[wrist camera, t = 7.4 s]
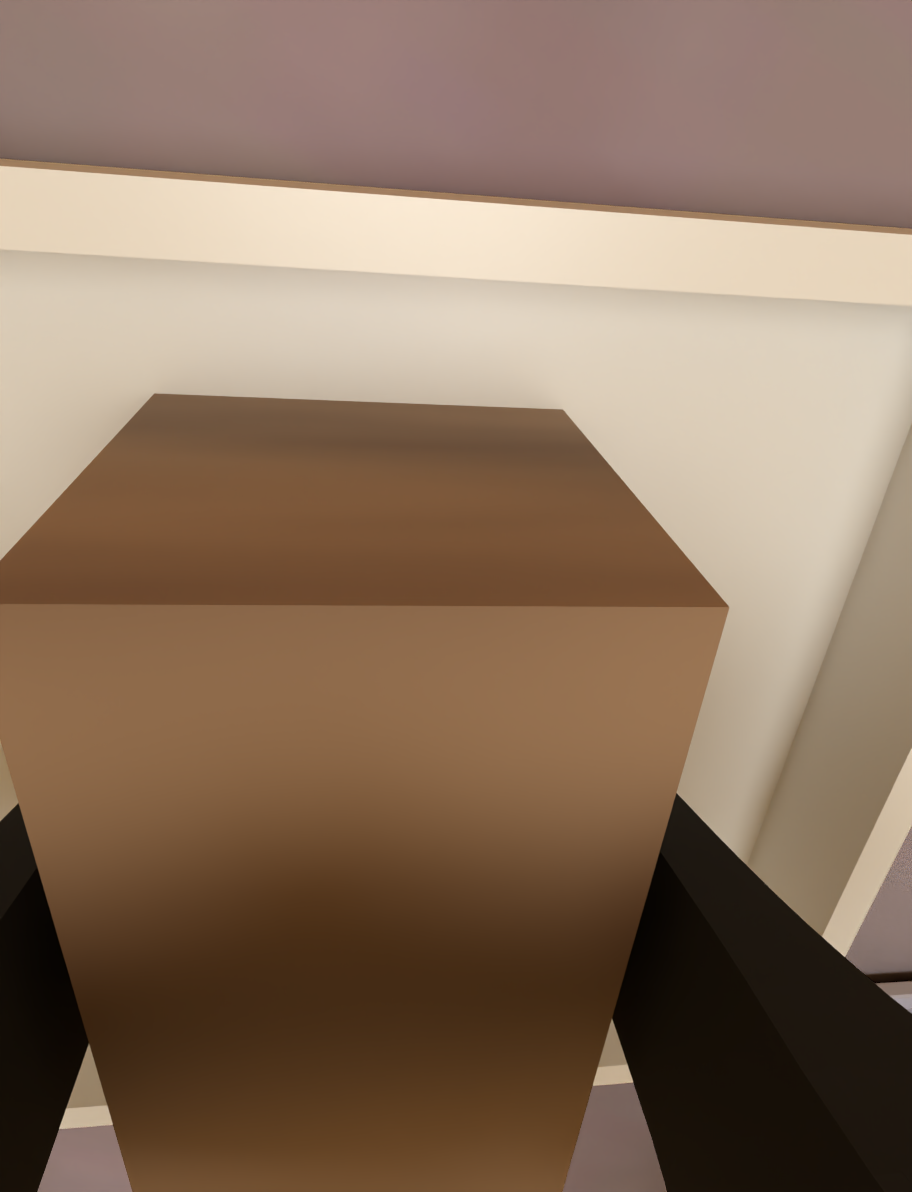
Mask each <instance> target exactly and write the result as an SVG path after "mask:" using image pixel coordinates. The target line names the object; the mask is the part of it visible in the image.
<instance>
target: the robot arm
mask: <svg viewBox="0 0 912 1192" xmlns="http://www.w3.org/2000/svg"><path fill="white" fill-rule="evenodd" d="M612 1020H613V1023H614V1026H615V1029H616V1032H617V1035H618V1038H619V1041H620V1044H621V1047H622V1050H623V1053H624V1056H625V1059H626V1062H627V1065H628V1068H629V1071H630V1074H631V1077H632V1080H633V1083H634V1086H635V1089H636V1092H637V1095H638V1098H639V1101H640V1104H641V1107H642V1110H643V1113H644V1116H645V1119H646V1122H647V1125H648V1128H649V1131H650V1134H651V1137H652V1140H653V1144H654V1147H655V1151H656V1154H657V1158H658V1161H659V1164H660V1168H661V1171H662V1175H663V1178H664V1181H665V1185H666V1189H667V1192H912V981H904V982H889V983H874V982H873V981H871V980H870V979H869V978H868V977H867V976H866V975H864V974H863V973H862V972H861V971H860V970H859V969H857V968H856V967H855V966H854V965H853V964H852V963H851V962H850V961H848V960H847V959H846V958H845V957H844V956H843V955H842V954H841V953H840V952H838V951H837V950H836V949H835V948H834V947H833V946H832V945H831V944H830V943H828V942H827V941H826V940H825V939H824V938H823V937H822V936H821V935H819V934H818V933H817V932H816V931H815V930H814V929H813V928H812V927H811V926H809V925H808V924H807V923H806V922H805V921H804V920H803V919H802V918H801V917H800V916H799V915H798V914H797V913H795V912H794V911H793V910H792V909H791V908H790V907H789V906H788V905H787V904H786V903H785V902H784V901H783V900H782V899H781V898H780V897H779V896H778V895H776V894H775V893H774V892H773V891H772V890H771V889H770V888H769V887H768V886H767V885H766V884H765V883H764V882H763V881H762V880H761V879H760V878H759V877H758V876H757V875H756V874H755V873H754V872H753V871H752V870H751V869H750V868H749V867H748V866H747V865H746V864H745V863H744V862H743V861H742V860H741V859H740V858H739V857H738V856H737V855H736V854H735V853H734V852H733V851H732V850H731V849H730V848H729V847H728V846H727V845H726V844H725V843H724V842H723V841H722V840H721V839H720V838H719V837H718V836H717V835H716V834H715V833H714V832H713V831H712V829H711V828H710V827H709V826H708V825H707V824H706V823H705V822H704V821H703V820H702V819H701V818H700V817H699V816H698V815H697V814H696V813H695V812H694V811H693V810H692V809H691V808H690V807H689V805H688V804H687V803H686V802H685V801H684V800H683V799H682V798H681V797H680V796H679V795H678V794H677V793H676V796H675V800H674V803H673V807H672V810H671V814H670V817H669V820H668V824H667V827H666V831H665V834H664V838H663V841H662V845H661V848H660V852H659V855H658V859H657V862H656V866H655V869H654V873H653V876H652V880H651V883H650V887H649V890H648V894H647V897H646V901H645V904H644V908H643V911H642V915H641V918H640V922H639V925H638V929H637V932H636V936H635V939H634V943H633V946H632V950H631V953H630V957H629V960H628V964H627V967H626V971H625V974H624V978H623V981H622V985H621V988H620V992H619V995H618V999H617V1002H616V1006H615V1009H614V1013H613V1016H612ZM88 1045H89V1041H88V1038H87V1035H86V1031H85V1028H84V1024H83V1021H82V1017H81V1014H80V1011H79V1007H78V1004H77V1000H76V997H75V994H74V990H73V987H72V983H71V980H70V977H69V973H68V970H67V966H66V963H65V960H64V956H63V953H62V949H61V946H60V942H59V939H58V936H57V932H56V929H55V925H54V922H53V919H52V915H51V912H50V908H49V905H48V902H47V898H46V895H45V891H44V888H43V884H42V881H41V878H40V874H39V871H38V867H37V864H36V861H35V857H34V854H33V850H32V847H31V844H30V840H29V837H28V833H27V830H26V827H25V823H24V820H23V816H22V813H21V809H20V806H19V803H18V804H17V805H16V806H15V807H14V808H13V809H12V810H11V811H10V812H9V813H8V814H7V815H6V816H5V817H4V818H3V819H2V820H1V821H0V1192H37V1191H38V1188H39V1185H40V1182H41V1179H42V1176H43V1174H44V1171H45V1168H46V1165H47V1162H48V1159H49V1156H50V1153H51V1151H52V1148H53V1145H54V1142H55V1139H56V1136H57V1133H58V1131H59V1128H60V1125H61V1122H62V1119H63V1116H64V1113H65V1111H66V1108H67V1105H68V1102H69V1099H70V1096H71V1093H72V1090H73V1088H74V1085H75V1082H76V1079H77V1076H78V1073H79V1070H80V1068H81V1065H82V1062H83V1059H84V1056H85V1053H86V1050H87V1048H88Z"/></svg>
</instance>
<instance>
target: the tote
mask: <svg viewBox="0 0 912 1192" xmlns="http://www.w3.org/2000/svg"><path fill="white" fill-rule="evenodd" d="M154 393H156V394H182V395H207V396H232V397H258V398H283V399H308V400H334V401H359V402H385V403H410V404H435V405H461V406H486V407H511V408H537V409H562V410H564V411H565V413H566V414H567V415H568V416H569V417H570V418H571V420H572V421H573V422H574V423H575V424H576V426H577V427H578V428H579V429H580V430H581V432H582V433H583V434H584V435H585V436H586V437H587V439H588V440H589V441H590V442H591V443H592V445H593V446H594V447H595V448H596V449H597V451H598V452H599V453H600V454H601V455H602V456H603V458H604V459H605V460H606V461H607V462H608V464H609V465H610V466H611V467H612V468H613V470H614V471H615V472H616V473H617V474H618V475H619V477H620V478H621V479H622V480H623V481H624V483H625V484H626V485H627V486H628V487H629V489H630V490H631V491H632V492H633V493H634V494H635V496H636V497H637V498H638V499H639V500H640V502H641V503H642V504H643V505H644V506H645V507H646V509H647V510H648V511H649V512H650V513H651V515H652V516H653V517H654V518H655V519H656V521H657V522H658V523H659V524H660V525H661V526H662V528H663V529H664V530H665V531H666V532H667V534H668V535H669V536H670V537H671V538H672V540H673V541H674V542H675V543H676V544H677V545H678V547H679V548H680V549H681V550H682V551H683V553H684V554H685V555H686V556H687V557H688V559H689V560H690V561H691V562H692V563H693V564H694V566H695V567H696V568H697V569H698V570H699V572H700V573H701V574H702V575H703V576H704V578H705V579H706V580H707V581H708V582H709V583H710V585H711V586H712V587H713V588H714V589H715V591H716V592H717V593H718V594H719V595H720V597H721V598H722V599H723V600H724V601H725V602H726V604H727V605H728V606H729V611H728V614H727V618H726V621H725V625H724V628H723V632H722V635H721V639H720V642H719V646H718V649H717V653H716V656H715V660H714V663H713V667H712V670H711V674H710V677H709V681H708V684H707V688H706V691H705V695H704V698H703V702H702V705H701V709H700V712H699V716H698V719H697V723H696V726H695V730H694V733H693V737H692V740H691V744H690V747H689V751H688V754H687V758H686V761H685V765H684V768H683V772H682V775H681V779H680V782H679V786H678V789H677V794H678V795H679V796H680V797H681V798H682V799H683V800H684V801H685V802H686V803H687V804H688V805H689V807H690V808H691V809H692V810H693V811H694V812H695V813H696V814H697V815H698V816H699V817H700V818H701V819H702V820H703V821H704V822H705V823H706V824H707V825H708V826H709V827H710V828H711V829H712V831H713V832H714V833H715V834H716V835H717V836H718V837H719V838H720V839H721V840H722V841H723V842H724V843H725V844H726V845H727V846H728V847H729V848H730V849H731V850H732V851H733V852H734V853H735V854H736V855H737V856H738V857H739V858H740V859H741V860H742V861H743V862H744V863H745V864H746V865H747V866H748V867H749V868H750V869H751V870H752V871H753V872H754V873H755V874H756V875H757V876H758V877H759V878H760V879H761V880H762V881H763V882H764V883H765V884H766V885H767V886H768V887H769V888H770V889H771V890H772V891H773V892H774V893H775V894H776V895H778V896H779V897H780V898H781V899H782V900H783V901H784V902H785V903H786V904H787V905H788V906H789V907H790V908H791V909H792V910H793V911H794V912H795V913H797V914H798V915H799V916H800V917H801V918H802V919H803V920H804V921H805V922H806V923H807V924H808V925H809V926H811V927H812V928H813V929H814V930H815V931H816V932H817V933H818V934H819V935H821V936H822V937H823V938H824V939H825V940H826V941H827V942H828V943H830V944H831V945H832V946H833V947H834V948H835V949H836V950H837V951H838V952H840V953H841V954H842V955H843V956H844V957H845V956H846V954H847V952H848V950H849V948H850V946H851V944H852V942H853V940H854V938H855V936H856V934H857V932H858V930H859V928H860V926H861V924H862V923H863V921H864V919H865V917H866V915H867V913H868V911H869V909H870V907H871V905H872V903H873V901H874V899H875V897H876V895H877V893H878V891H879V889H880V887H881V885H882V883H883V881H884V879H885V877H886V875H887V873H888V871H889V869H890V867H891V865H892V863H893V861H894V859H895V858H896V856H897V854H898V852H899V850H900V848H901V846H902V844H903V842H904V840H905V838H906V836H907V834H908V832H909V830H910V828H911V826H912V229H911V228H898V227H885V226H872V225H859V224H846V223H833V222H820V221H807V220H794V219H781V218H768V217H755V216H742V215H729V214H716V213H703V212H690V211H677V210H664V209H651V208H638V207H625V206H612V205H599V204H586V203H573V202H560V201H547V200H534V199H521V198H508V197H495V196H482V195H469V194H455V193H442V192H429V191H416V190H403V189H390V188H377V187H364V186H351V185H338V184H325V183H312V182H299V181H286V180H273V179H260V178H247V177H234V176H221V175H208V174H195V173H182V172H169V171H156V170H143V169H130V168H117V167H104V166H91V165H78V164H65V163H52V162H39V161H26V160H13V159H0V560H1V559H2V558H3V557H4V556H5V555H6V554H7V553H8V552H9V550H10V549H11V548H12V547H13V546H14V545H15V544H16V543H17V542H18V541H19V540H20V539H21V537H22V536H23V535H24V534H25V533H26V532H27V531H28V530H29V529H30V528H31V527H32V526H33V524H34V523H35V522H36V521H37V520H38V519H39V518H40V517H41V516H42V515H43V514H44V512H45V511H46V510H47V509H48V508H49V507H50V506H51V505H52V504H53V503H54V502H55V501H56V499H57V498H58V497H59V496H60V495H61V494H62V493H63V492H64V491H65V490H66V489H67V488H68V486H69V485H70V484H71V483H72V482H73V481H74V480H75V479H76V478H77V477H78V476H79V475H80V473H81V472H82V471H83V470H84V469H85V468H86V467H87V466H88V465H89V464H90V463H91V462H92V460H93V459H94V458H95V457H96V456H97V455H98V454H99V453H100V452H101V451H102V450H103V449H104V447H105V446H106V445H107V444H108V443H109V442H110V441H111V440H112V439H113V438H114V437H115V436H116V434H117V433H118V432H119V431H120V430H121V429H122V428H123V427H124V426H125V425H126V424H127V423H128V421H129V420H130V419H131V418H132V417H133V416H134V415H135V414H136V413H137V412H138V411H139V410H140V408H141V407H142V406H143V405H144V404H145V403H146V402H147V401H148V400H149V399H150V398H151V397H152V395H153V394H154ZM17 804H18V799H17V796H16V792H15V789H14V786H13V782H12V779H11V775H10V772H9V769H8V765H7V762H6V758H5V755H4V752H3V748H2V745H1V741H0V821H1V820H2V819H3V818H4V817H5V816H6V815H7V814H8V813H9V812H10V811H11V810H12V809H13V808H14V807H15V806H16V805H17ZM621 1083H633V1080H632V1077H631V1074H630V1071H629V1068H628V1065H627V1062H626V1059H625V1056H624V1053H623V1050H622V1047H621V1044H620V1041H619V1038H618V1035H617V1032H616V1029H615V1026H614V1023H613V1020H611V1023H610V1027H609V1030H608V1034H607V1037H606V1041H605V1044H604V1048H603V1051H602V1055H601V1058H600V1062H599V1065H598V1069H597V1072H596V1075H595V1079H594V1082H593V1086H596V1085H609V1084H621ZM103 1125H113V1123H112V1120H111V1116H110V1113H109V1110H108V1106H107V1103H106V1099H105V1096H104V1093H103V1089H102V1086H101V1082H100V1079H99V1075H98V1072H97V1069H96V1065H95V1062H94V1058H93V1055H92V1052H91V1048H90V1045H88V1048H87V1050H86V1053H85V1056H84V1059H83V1062H82V1065H81V1068H80V1070H79V1073H78V1076H77V1079H76V1082H75V1085H74V1088H73V1090H72V1093H71V1096H70V1099H69V1102H68V1105H67V1108H66V1111H65V1113H64V1116H63V1119H62V1122H61V1125H60V1128H59V1129H66V1128H79V1127H91V1126H103Z"/></svg>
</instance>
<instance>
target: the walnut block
mask: <svg viewBox="0 0 912 1192" xmlns="http://www.w3.org/2000/svg"><path fill="white" fill-rule="evenodd" d="M728 611H729V606H728V605H727V604H726V602H725V601H724V600H723V599H722V598H721V597H720V595H719V594H718V593H717V592H716V591H715V589H714V588H713V587H712V586H711V585H710V583H709V582H708V581H707V580H706V579H705V578H704V576H703V575H702V574H701V573H700V572H699V570H698V569H697V568H696V567H695V566H694V564H693V563H692V562H691V561H690V560H689V559H688V557H687V556H686V555H685V554H684V553H683V551H682V550H681V549H680V548H679V547H678V545H677V544H676V543H675V542H674V541H673V540H672V538H671V537H670V536H669V535H668V534H667V532H666V531H665V530H664V529H663V528H662V526H661V525H660V524H659V523H658V522H657V521H656V519H655V518H654V517H653V516H652V515H651V513H650V512H649V511H648V510H647V509H646V507H645V506H644V505H643V504H642V503H641V502H640V500H639V499H638V498H637V497H636V496H635V494H634V493H633V492H632V491H631V490H630V489H629V487H628V486H627V485H626V484H625V483H624V481H623V480H622V479H621V478H620V477H619V475H618V474H617V473H616V472H615V471H614V470H613V468H612V467H611V466H610V465H609V464H608V462H607V461H606V460H605V459H604V458H603V456H602V455H601V454H600V453H599V452H598V451H597V449H596V448H595V447H594V446H593V445H592V443H591V442H590V441H589V440H588V439H587V437H586V436H585V435H584V434H583V433H582V432H581V430H580V429H579V428H578V427H577V426H576V424H575V423H574V422H573V421H572V420H571V418H570V417H569V416H568V415H567V414H566V413H565V411H564V410H562V409H537V408H511V407H486V406H461V405H435V404H410V403H385V402H359V401H334V400H308V399H283V398H258V397H232V396H207V395H182V394H156V393H154V394H153V395H152V397H151V398H150V399H149V400H148V401H147V402H146V403H145V404H144V405H143V406H142V407H141V408H140V410H139V411H138V412H137V413H136V414H135V415H134V416H133V417H132V418H131V419H130V420H129V421H128V423H127V424H126V425H125V426H124V427H123V428H122V429H121V430H120V431H119V432H118V433H117V434H116V436H115V437H114V438H113V439H112V440H111V441H110V442H109V443H108V444H107V445H106V446H105V447H104V449H103V450H102V451H101V452H100V453H99V454H98V455H97V456H96V457H95V458H94V459H93V460H92V462H91V463H90V464H89V465H88V466H87V467H86V468H85V469H84V470H83V471H82V472H81V473H80V475H79V476H78V477H77V478H76V479H75V480H74V481H73V482H72V483H71V484H70V485H69V486H68V488H67V489H66V490H65V491H64V492H63V493H62V494H61V495H60V496H59V497H58V498H57V499H56V501H55V502H54V503H53V504H52V505H51V506H50V507H49V508H48V509H47V510H46V511H45V512H44V514H43V515H42V516H41V517H40V518H39V519H38V520H37V521H36V522H35V523H34V524H33V526H32V527H31V528H30V529H29V530H28V531H27V532H26V533H25V534H24V535H23V536H22V537H21V539H20V540H19V541H18V542H17V543H16V544H15V545H14V546H13V547H12V548H11V549H10V550H9V552H8V553H7V554H6V555H5V556H4V557H3V558H2V559H1V560H0V741H1V745H2V748H3V752H4V755H5V758H6V762H7V765H8V769H9V772H10V775H11V779H12V782H13V786H14V789H15V792H16V796H17V799H18V803H19V806H20V809H21V813H22V816H23V820H24V823H25V827H26V830H27V833H28V837H29V840H30V844H31V847H32V850H33V854H34V857H35V861H36V864H37V867H38V871H39V874H40V878H41V881H42V884H43V888H44V891H45V895H46V898H47V902H48V905H49V908H50V912H51V915H52V919H53V922H54V925H55V929H56V932H57V936H58V939H59V942H60V946H61V949H62V953H63V956H64V960H65V963H66V966H67V970H68V973H69V977H70V980H71V983H72V987H73V990H74V994H75V997H76V1000H77V1004H78V1007H79V1011H80V1014H81V1017H82V1021H83V1024H84V1028H85V1031H86V1035H87V1038H88V1041H89V1045H90V1048H91V1052H92V1055H93V1058H94V1062H95V1065H96V1069H97V1072H98V1075H99V1079H100V1082H101V1086H102V1089H103V1093H104V1096H105V1099H106V1103H107V1106H108V1110H109V1113H110V1116H111V1120H112V1123H113V1127H114V1130H115V1133H116V1137H117V1140H118V1144H119V1147H120V1150H121V1154H122V1157H123V1161H124V1164H125V1168H126V1171H127V1174H128V1178H129V1181H130V1185H131V1188H132V1191H133V1192H562V1191H563V1187H564V1184H565V1180H566V1177H567V1173H568V1170H569V1166H570V1163H571V1159H572V1156H573V1152H574V1149H575V1145H576V1142H577V1138H578V1135H579V1131H580V1128H581V1124H582V1121H583V1117H584V1114H585V1110H586V1107H587V1103H588V1100H589V1096H590V1093H591V1089H592V1086H593V1082H594V1079H595V1075H596V1072H597V1069H598V1065H599V1062H600V1058H601V1055H602V1051H603V1048H604V1044H605V1041H606V1037H607V1034H608V1030H609V1027H610V1023H611V1020H612V1016H613V1013H614V1009H615V1006H616V1002H617V999H618V995H619V992H620V988H621V985H622V981H623V978H624V974H625V971H626V967H627V964H628V960H629V957H630V953H631V950H632V946H633V943H634V939H635V936H636V932H637V929H638V925H639V922H640V918H641V915H642V911H643V908H644V904H645V901H646V897H647V894H648V890H649V887H650V883H651V880H652V876H653V873H654V869H655V866H656V862H657V859H658V855H659V852H660V848H661V845H662V841H663V838H664V834H665V831H666V827H667V824H668V820H669V817H670V814H671V810H672V807H673V803H674V800H675V796H676V793H677V789H678V786H679V782H680V779H681V775H682V772H683V768H684V765H685V761H686V758H687V754H688V751H689V747H690V744H691V740H692V737H693V733H694V730H695V726H696V723H697V719H698V716H699V712H700V709H701V705H702V702H703V698H704V695H705V691H706V688H707V684H708V681H709V677H710V674H711V670H712V667H713V663H714V660H715V656H716V653H717V649H718V646H719V642H720V639H721V635H722V632H723V628H724V625H725V621H726V618H727V614H728Z"/></svg>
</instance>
